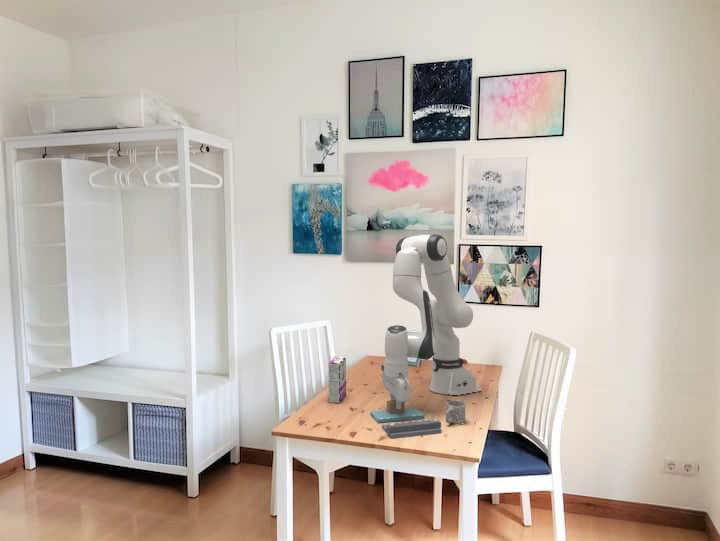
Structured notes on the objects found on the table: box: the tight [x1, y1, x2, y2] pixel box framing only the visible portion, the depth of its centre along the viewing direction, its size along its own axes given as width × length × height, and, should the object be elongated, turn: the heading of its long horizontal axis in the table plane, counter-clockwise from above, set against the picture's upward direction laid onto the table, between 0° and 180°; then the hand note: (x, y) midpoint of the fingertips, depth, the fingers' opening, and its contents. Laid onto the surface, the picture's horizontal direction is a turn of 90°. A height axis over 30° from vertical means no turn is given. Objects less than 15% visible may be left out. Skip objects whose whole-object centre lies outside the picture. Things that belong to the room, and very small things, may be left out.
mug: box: [445, 400, 466, 425], centre depth 192 cm, size 10×7×7 cm, turn 141°
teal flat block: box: [369, 399, 425, 424], centre depth 198 cm, size 18×9×5 cm, turn 106°
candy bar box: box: [328, 355, 347, 404], centre depth 218 cm, size 11×5×16 cm, turn 168°
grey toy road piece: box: [381, 418, 442, 439], centre depth 184 cm, size 19×10×4 cm, turn 106°
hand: (395, 406), depth 199 cm, fingers closed on teal flat block, 3 cm apart
